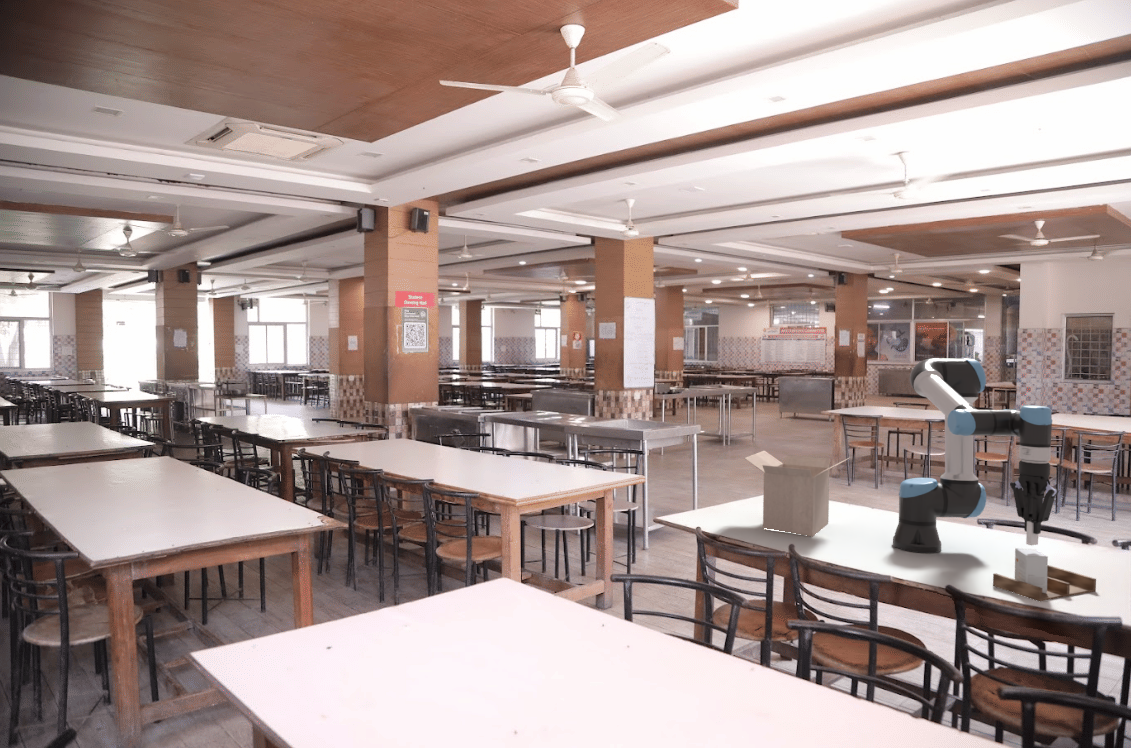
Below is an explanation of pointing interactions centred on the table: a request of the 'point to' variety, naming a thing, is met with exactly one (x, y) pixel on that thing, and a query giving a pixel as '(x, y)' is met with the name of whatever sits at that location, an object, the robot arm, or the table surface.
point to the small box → (1031, 567)
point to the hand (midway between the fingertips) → (1032, 544)
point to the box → (794, 492)
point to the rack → (1049, 585)
